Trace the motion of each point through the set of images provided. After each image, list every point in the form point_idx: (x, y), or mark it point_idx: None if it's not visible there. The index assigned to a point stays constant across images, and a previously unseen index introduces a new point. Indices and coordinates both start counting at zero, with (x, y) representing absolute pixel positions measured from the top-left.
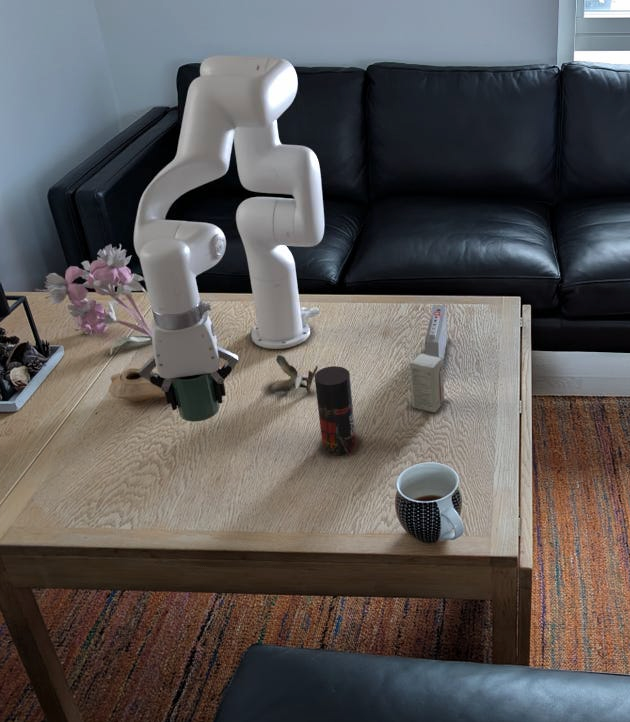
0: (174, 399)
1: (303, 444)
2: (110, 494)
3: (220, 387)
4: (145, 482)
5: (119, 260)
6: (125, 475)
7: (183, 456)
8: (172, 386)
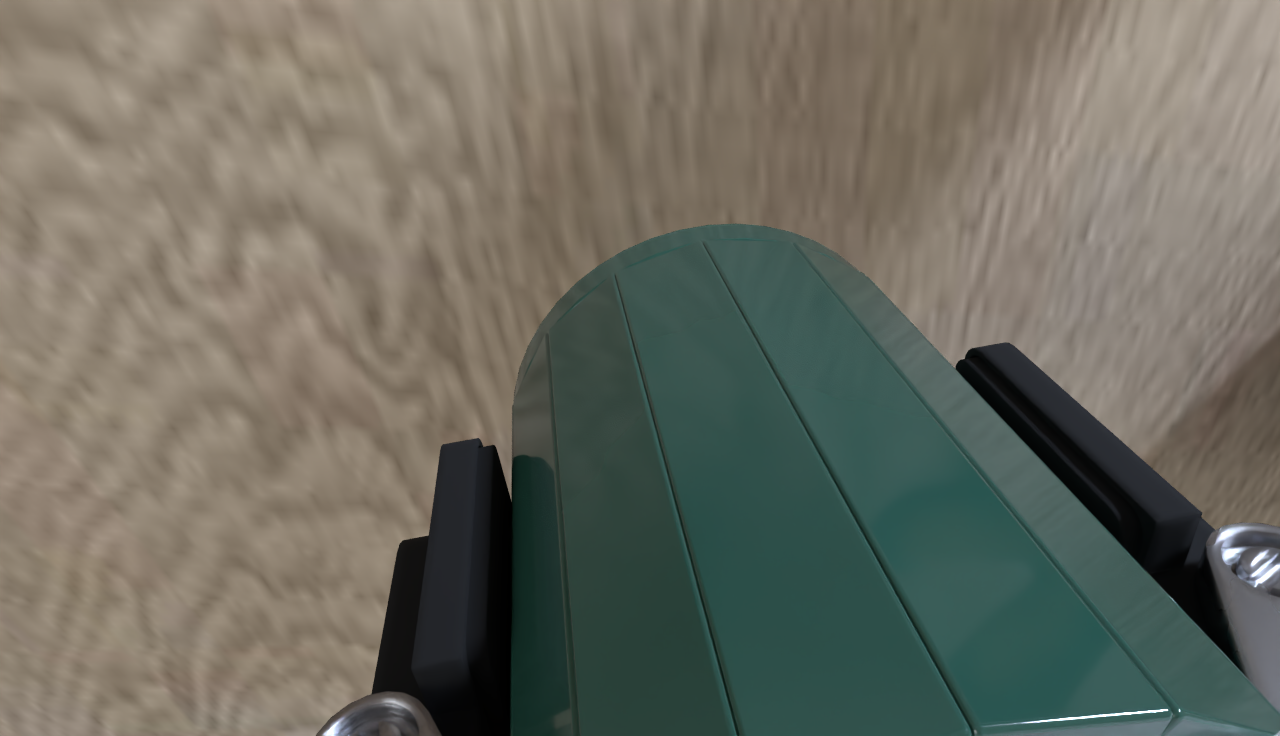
0: None
1: (1213, 297)
2: (204, 641)
3: None
4: (360, 566)
5: None
6: (208, 518)
7: (516, 369)
8: (504, 729)
